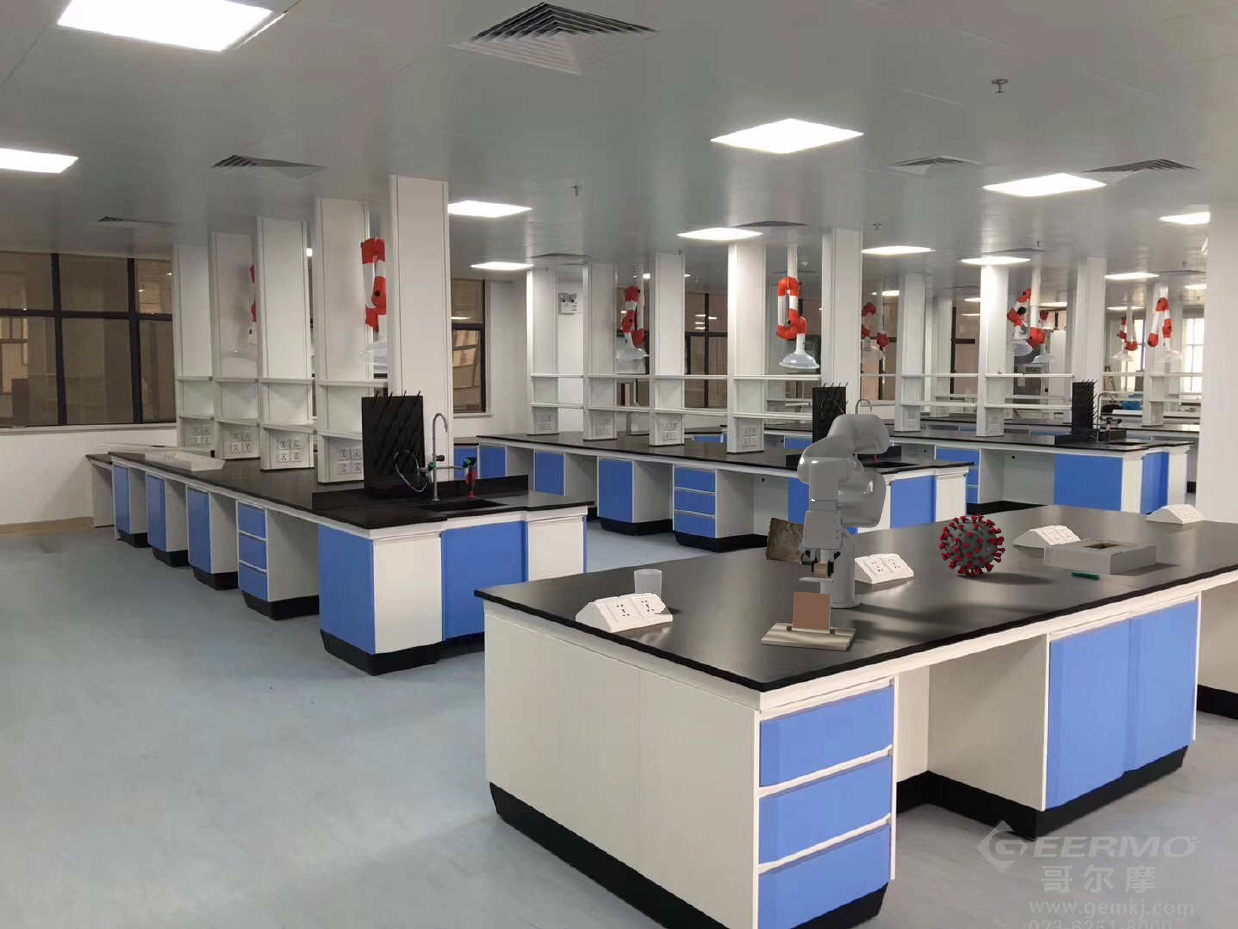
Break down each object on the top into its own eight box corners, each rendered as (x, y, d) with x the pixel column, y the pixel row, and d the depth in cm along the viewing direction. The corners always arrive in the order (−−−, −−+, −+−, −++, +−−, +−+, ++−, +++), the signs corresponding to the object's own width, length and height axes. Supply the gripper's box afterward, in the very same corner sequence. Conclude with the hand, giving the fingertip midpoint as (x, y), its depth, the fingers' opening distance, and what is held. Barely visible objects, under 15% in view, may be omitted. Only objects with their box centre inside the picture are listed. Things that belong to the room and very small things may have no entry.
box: (1089, 556, 350) (1042, 566, 330) (1090, 535, 349) (1043, 543, 330) (1156, 566, 331) (1111, 577, 312) (1157, 544, 330) (1112, 553, 311)
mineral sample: (764, 559, 348) (765, 517, 347) (772, 558, 350) (772, 516, 349) (802, 565, 335) (802, 522, 334) (809, 563, 338) (809, 521, 337)
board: (776, 626, 248) (776, 618, 247) (855, 632, 241) (855, 624, 240) (760, 643, 231) (760, 634, 231) (845, 651, 224) (845, 641, 224)
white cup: (661, 603, 277) (660, 568, 276) (663, 609, 269) (663, 574, 268) (633, 603, 276) (633, 569, 276) (635, 609, 269) (634, 574, 268)
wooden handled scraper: (811, 576, 262) (812, 561, 262) (841, 577, 259) (841, 562, 259) (799, 581, 244) (799, 565, 244) (831, 582, 241) (831, 566, 242)
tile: (795, 592, 242) (794, 591, 241) (831, 594, 239) (830, 594, 238) (792, 628, 240) (792, 627, 239) (829, 631, 236) (828, 630, 235)
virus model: (1014, 581, 303) (1016, 518, 301) (949, 581, 303) (950, 519, 302) (991, 569, 323) (992, 510, 322) (930, 569, 324) (931, 511, 322)
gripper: (856, 506, 253) (855, 575, 254) (794, 504, 259) (794, 571, 260) (853, 508, 246) (852, 579, 247) (789, 506, 252) (788, 576, 253)
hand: (822, 575), depth 254 cm, fingers closed on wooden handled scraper, 3 cm apart
